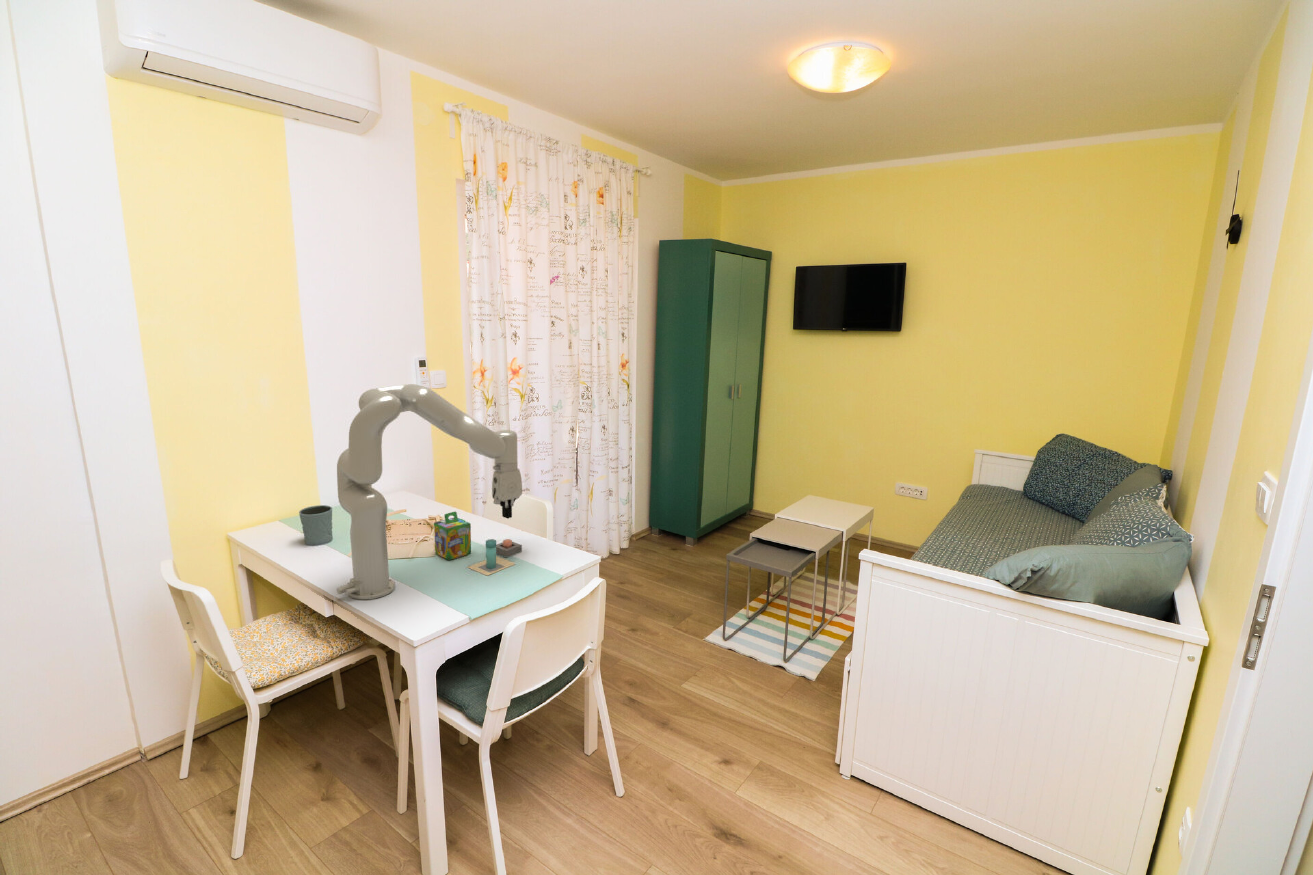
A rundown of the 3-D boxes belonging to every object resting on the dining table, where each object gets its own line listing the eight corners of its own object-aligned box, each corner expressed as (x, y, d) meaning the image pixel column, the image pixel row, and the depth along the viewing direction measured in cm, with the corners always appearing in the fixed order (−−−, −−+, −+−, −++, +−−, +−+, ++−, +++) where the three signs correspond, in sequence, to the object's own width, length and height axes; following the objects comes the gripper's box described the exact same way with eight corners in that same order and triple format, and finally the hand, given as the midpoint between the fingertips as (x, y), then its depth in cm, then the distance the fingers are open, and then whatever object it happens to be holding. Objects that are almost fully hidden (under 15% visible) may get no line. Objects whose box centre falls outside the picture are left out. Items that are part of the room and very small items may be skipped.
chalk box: (448, 561, 198) (446, 519, 195) (434, 553, 204) (432, 513, 201) (472, 553, 205) (471, 513, 202) (458, 546, 211) (456, 507, 208)
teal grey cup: (340, 537, 215) (338, 506, 212) (322, 547, 205) (319, 515, 202) (314, 535, 216) (311, 504, 213) (295, 545, 206) (292, 513, 203)
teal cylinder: (490, 569, 192) (490, 543, 190) (483, 566, 194) (483, 541, 192) (498, 566, 195) (498, 541, 193) (492, 563, 197) (491, 538, 195)
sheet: (487, 575, 188) (487, 575, 188) (467, 567, 194) (467, 566, 194) (515, 564, 198) (515, 563, 198) (496, 556, 203) (496, 555, 203)
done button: (507, 550, 205) (506, 543, 204) (501, 547, 207) (501, 540, 206) (513, 547, 207) (513, 540, 207) (507, 545, 209) (507, 538, 209)
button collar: (506, 557, 203) (506, 550, 202) (493, 552, 206) (492, 545, 206) (521, 551, 208) (521, 544, 208) (508, 546, 212) (508, 540, 212)
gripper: (496, 472, 193) (497, 525, 197) (530, 464, 205) (530, 514, 209) (481, 468, 197) (482, 520, 201) (515, 460, 209) (516, 509, 213)
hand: (507, 517), depth 205 cm, fingers closed
